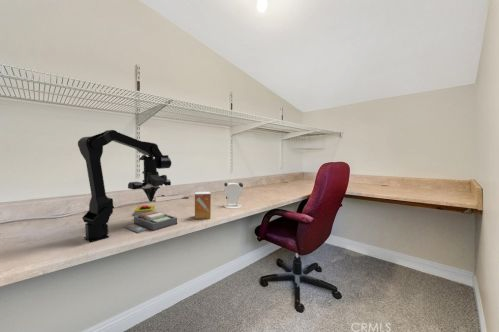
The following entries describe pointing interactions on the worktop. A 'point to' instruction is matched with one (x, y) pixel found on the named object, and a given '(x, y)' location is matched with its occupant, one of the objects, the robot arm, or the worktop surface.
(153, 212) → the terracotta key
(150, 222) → the keypad housing
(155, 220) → the sage key
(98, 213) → the robot arm
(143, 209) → the emergency button
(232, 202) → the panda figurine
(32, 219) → the worktop surface
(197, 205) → the small box
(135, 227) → the card
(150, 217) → the offwhite key
